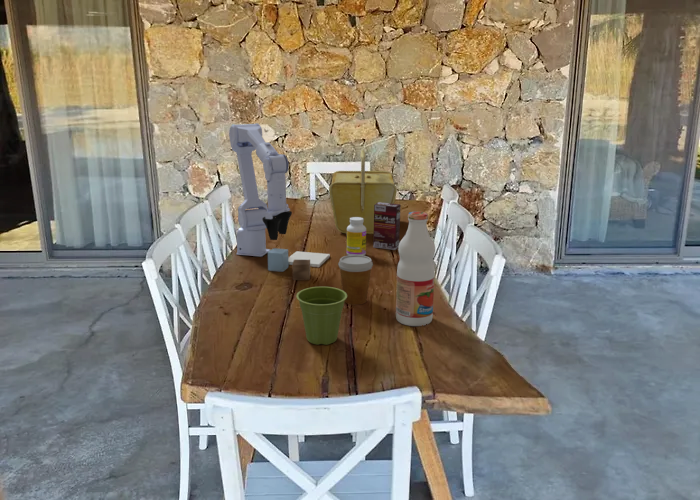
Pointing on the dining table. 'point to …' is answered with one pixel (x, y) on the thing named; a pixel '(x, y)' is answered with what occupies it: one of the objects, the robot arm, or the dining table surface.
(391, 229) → the supplement box
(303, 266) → the walnut block
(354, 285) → the disposable coffee cup
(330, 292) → the plant pot
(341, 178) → the picnic basket
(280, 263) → the blue block
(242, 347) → the dining table surface
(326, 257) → the plate
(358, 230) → the supplement bottle
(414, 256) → the fruit juice
